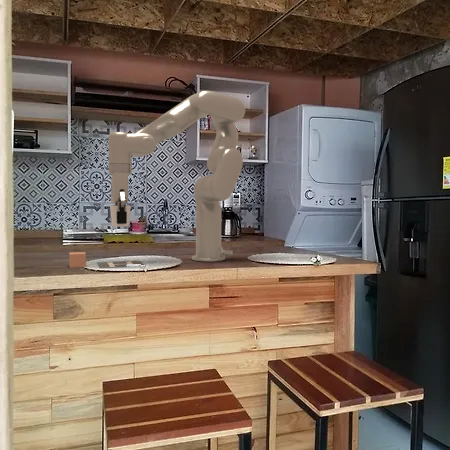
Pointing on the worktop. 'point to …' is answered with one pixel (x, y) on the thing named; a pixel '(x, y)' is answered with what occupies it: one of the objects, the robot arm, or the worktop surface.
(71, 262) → the terracotta block
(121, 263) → the letter mat
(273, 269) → the worktop surface
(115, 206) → the beige tapered cup
